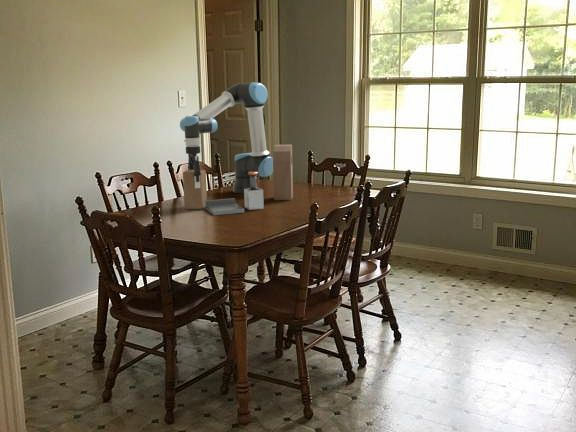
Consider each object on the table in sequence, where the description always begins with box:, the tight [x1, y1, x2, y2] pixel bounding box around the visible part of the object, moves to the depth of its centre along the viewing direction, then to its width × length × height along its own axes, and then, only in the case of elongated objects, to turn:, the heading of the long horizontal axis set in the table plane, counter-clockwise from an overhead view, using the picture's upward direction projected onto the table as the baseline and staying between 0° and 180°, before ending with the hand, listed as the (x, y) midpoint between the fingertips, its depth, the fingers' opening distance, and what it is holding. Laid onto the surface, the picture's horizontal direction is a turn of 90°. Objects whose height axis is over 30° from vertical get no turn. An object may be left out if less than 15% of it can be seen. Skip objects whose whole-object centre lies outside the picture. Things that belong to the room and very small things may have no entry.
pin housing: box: [243, 186, 265, 211], centre depth 334 cm, size 8×8×10 cm
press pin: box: [248, 172, 258, 190], centre depth 333 cm, size 5×5×11 cm
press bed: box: [205, 197, 245, 216], centre depth 330 cm, size 18×16×4 cm
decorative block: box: [272, 144, 294, 201], centre depth 357 cm, size 10×10×30 cm
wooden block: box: [182, 169, 208, 211], centre depth 337 cm, size 10×10×20 cm
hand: (194, 186), depth 336 cm, fingers closed on wooden block, 13 cm apart
